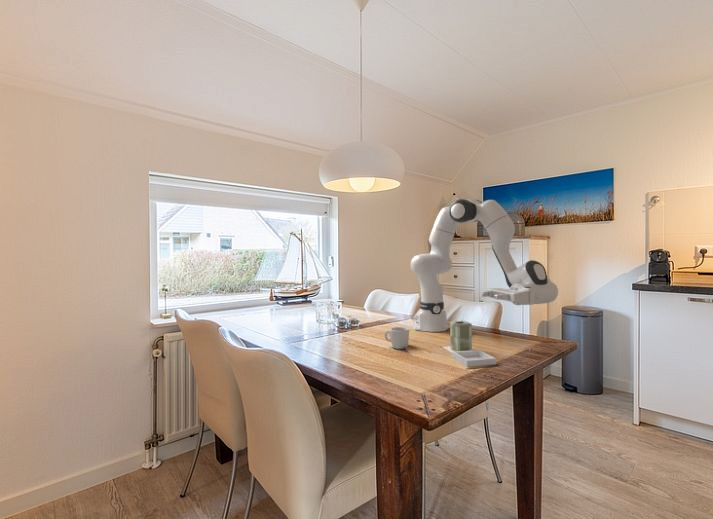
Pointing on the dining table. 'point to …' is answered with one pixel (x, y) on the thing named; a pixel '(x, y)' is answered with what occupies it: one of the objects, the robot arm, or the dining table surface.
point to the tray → (474, 358)
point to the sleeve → (460, 336)
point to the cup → (398, 337)
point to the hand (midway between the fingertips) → (488, 295)
